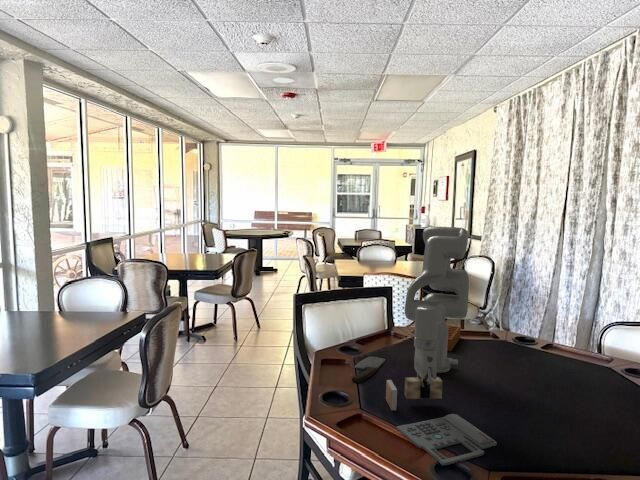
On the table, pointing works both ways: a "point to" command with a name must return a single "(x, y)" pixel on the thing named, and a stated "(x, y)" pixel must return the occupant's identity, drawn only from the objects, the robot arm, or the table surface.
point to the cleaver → (367, 368)
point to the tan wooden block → (414, 388)
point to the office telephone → (447, 437)
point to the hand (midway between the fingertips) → (422, 394)
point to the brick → (453, 336)
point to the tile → (391, 395)
